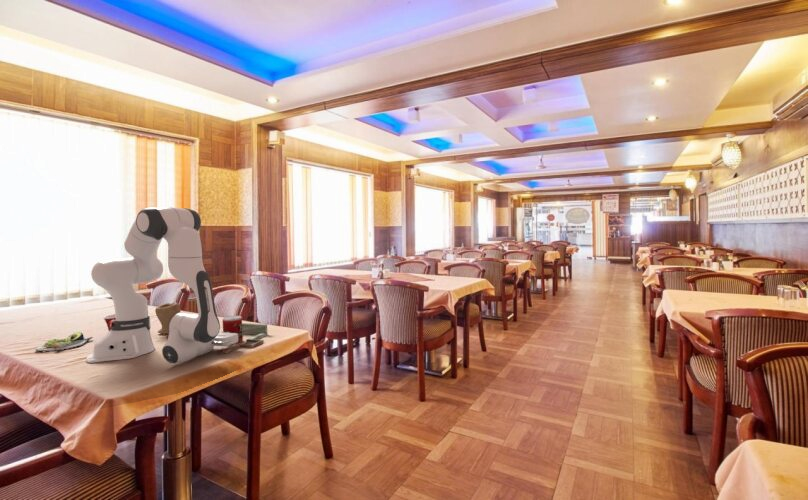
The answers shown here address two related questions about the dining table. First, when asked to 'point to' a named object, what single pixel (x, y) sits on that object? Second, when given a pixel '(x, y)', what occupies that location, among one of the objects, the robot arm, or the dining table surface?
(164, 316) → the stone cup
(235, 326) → the canned food
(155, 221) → the robot arm
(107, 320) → the plastic cup
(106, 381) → the dining table surface
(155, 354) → the dining table surface
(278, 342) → the dining table surface
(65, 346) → the salad plate
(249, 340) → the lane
